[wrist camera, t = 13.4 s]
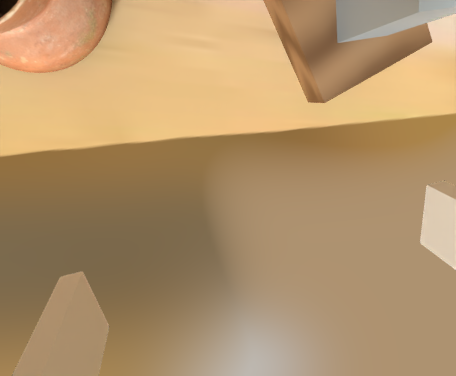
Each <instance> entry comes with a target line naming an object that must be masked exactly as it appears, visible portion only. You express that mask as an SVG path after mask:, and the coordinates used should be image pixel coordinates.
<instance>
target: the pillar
mask: <svg viewBox="0 0 456 376" xmlns="http://www.w3.org/2000/svg"><path fill="white" fill-rule="evenodd" d="M453 14H456V0H336V17H337V43H341V42H347V41H354V40H361V39H368V38H374V37H381V36H387V35H390V34H394V33H397V32H400V31H403V30H406V29H409V28H412V27H415V26H418V25H422V24H425V23H428V22H431V21H434V20H437V19H440V18H443V17H446V16H450V15H453Z"/></svg>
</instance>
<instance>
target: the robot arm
mask: <svg viewBox="0 0 456 376" xmlns="http://www.w3.org/2000/svg"><path fill="white" fill-rule="evenodd" d="M420 243H421V244H422V245H424V246H425V247H426V248H427V249H429V250H430V251H431V252H433V253H434V254H435V255H437V256H438V257H439V258H441V259H442V260H443V261H445V262H446V263H447V264H449V265H450V266H451V267H453V268H454V269H455V270H456V185H453V184H451V183H449V182H447V181H445V180H444V181H440V182H436V183H432V184H428V185H427V187H426V196H425V204H424V213H423V222H422V231H421V239H420ZM108 330H109V325H108V323H107V321H106V319H105V317H104V315H103V312H102V310H101V308H100V306H99V304H98V302H97V300H96V298H95V296H94V294H93V292H92V290H91V288H90V286H89V284H88V282H87V279H86V277H85V275H84V273H83V272H82V271H81V272H78V273H73V274H69V275H65V276H61V277H60V278H59V280H58V282H57V284H56V286H55V288H54V290H53V292H52V295H51V297H50V299H49V301H48V303H47V305H46V307H45V309H44V311H43V313H42V315H41V317H40V319H39V321H38V323H37V325H36V328H35V329H34V331H33V334H32V336H31V338H30V340H29V342H28V344H27V346H26V348H25V350H24V352H23V354H22V356H21V358H20V360H19V362H18V364H17V366H16V368H15V370H14V372H13V375H12V376H99V371H100V366H101V362H102V357H103V353H104V348H105V344H106V339H107V335H108Z"/></svg>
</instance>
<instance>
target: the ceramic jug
mask: <svg viewBox="0 0 456 376" xmlns="http://www.w3.org/2000/svg"><path fill="white" fill-rule="evenodd" d="M111 4H112V0H0V64H1V65H4V66H6V67H9V68H12V69H16V70H20V71H25V72H35V73H44V72H53V71H58V70H62V69H65V68H68V67H70V66H72V65H74V64H76V63H78V62H79V61H81V60H82V59H84V58H85V57H86V56H87V55H88V54H89V53H91V52H92V50H93V49H94V48H95V47H96V46H97V44H98V43H99V41H100V40H101V38H102V36H103V35H104V32H105V30H106V28H107V25H108V21H109V17H110V12H111Z"/></svg>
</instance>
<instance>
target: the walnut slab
mask: <svg viewBox="0 0 456 376" xmlns="http://www.w3.org/2000/svg"><path fill="white" fill-rule="evenodd" d="M264 3H265V5H266V7H267V9H268V12H269V14H270V16H271V19H272V21H273V23H274V25H275V28H276V30H277V32H278V34H279V37H280V39H281V41H282V44H283V46H284V48H285V50H286V53H287V55H288V57H289V60H290V62H291V64H292V66H293V69H294V71H295V73H296V75H297V78H298V80H299V82H300V85H301V87H302V89H303V91H304V94H305V96H306V98H307V100H308V102H314V103H326V102H327V101H329V100H331V99H333V98H334V97H336V96H338V95H340V94H341V93H343V92H345V91H347V90H348V89H350V88H352V87H354V86H356V85H357V84H359V83H361V82H363V81H364V80H366V79H368V78H370V77H371V76H373V75H375V74H377V73H378V72H380V71H382V70H384V69H386V68H387V67H389V66H391V65H393V64H394V63H396V62H398V61H400V60H401V59H403V58H405V57H407V56H408V55H410V54H412V53H414V52H416V51H417V50H419V49H421V48H423V47H424V46H426V45H428V44H430V43H431V42H432V39H431V36H430V32H429V29H428V25H427V23H425V24H422V25H418V26H415V27H412V28H409V29H406V30H403V31H400V32H397V33H394V34H390V35H387V36H381V37H374V38H368V39H361V40H354V41H347V42H341V43H337V17H336V0H264Z"/></svg>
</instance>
